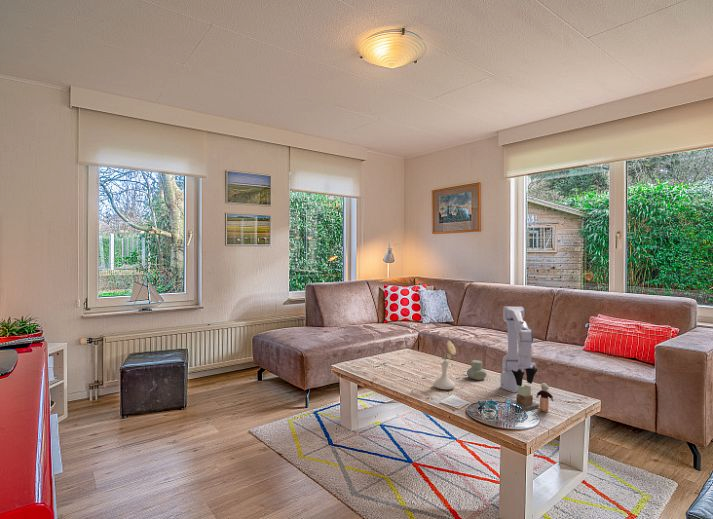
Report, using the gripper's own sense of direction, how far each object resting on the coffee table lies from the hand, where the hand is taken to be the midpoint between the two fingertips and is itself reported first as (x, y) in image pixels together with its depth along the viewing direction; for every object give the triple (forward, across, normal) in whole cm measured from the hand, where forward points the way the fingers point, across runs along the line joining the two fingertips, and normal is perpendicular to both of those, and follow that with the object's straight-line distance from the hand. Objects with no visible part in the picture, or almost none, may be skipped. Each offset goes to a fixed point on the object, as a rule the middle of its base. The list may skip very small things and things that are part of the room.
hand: (524, 384), depth 189 cm
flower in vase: (+11, -14, +38) cm, 42 cm away
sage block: (+5, 0, 0) cm, 5 cm away
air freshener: (+11, +14, +42) cm, 45 cm away
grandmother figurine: (+11, +3, -8) cm, 14 cm away
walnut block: (+9, 0, 0) cm, 9 cm away
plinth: (+10, 0, 0) cm, 10 cm away
